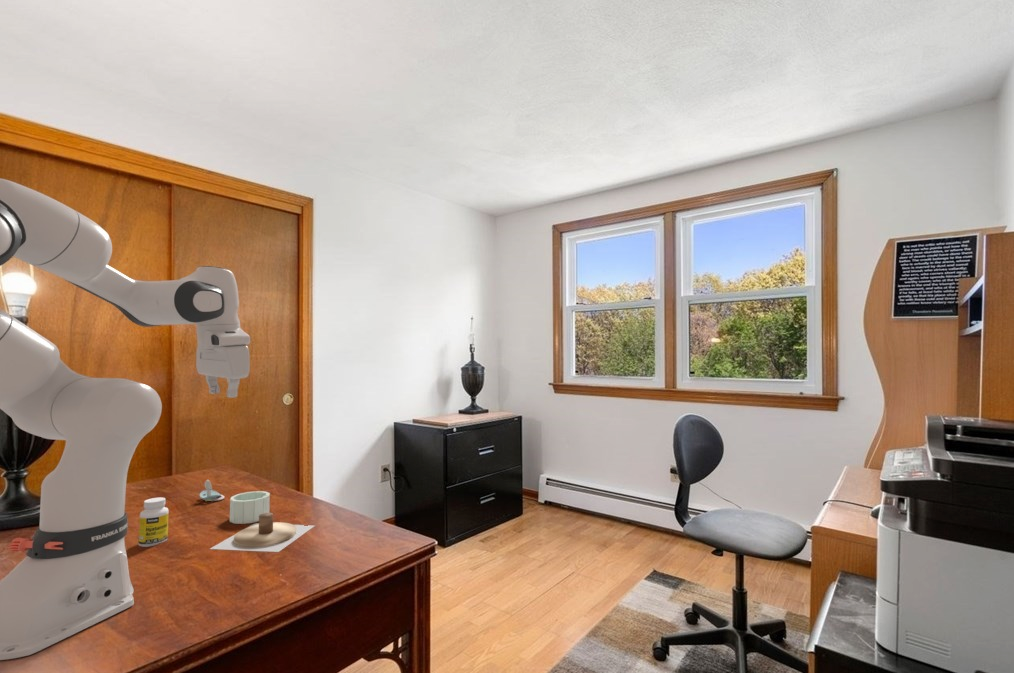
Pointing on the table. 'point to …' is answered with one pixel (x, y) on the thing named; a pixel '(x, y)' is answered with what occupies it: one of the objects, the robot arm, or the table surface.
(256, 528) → the lid
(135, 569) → the table surface
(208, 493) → the pacifier
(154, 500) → the supplement bottle
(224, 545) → the mat
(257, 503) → the bowl
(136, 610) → the table surface
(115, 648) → the table surface
